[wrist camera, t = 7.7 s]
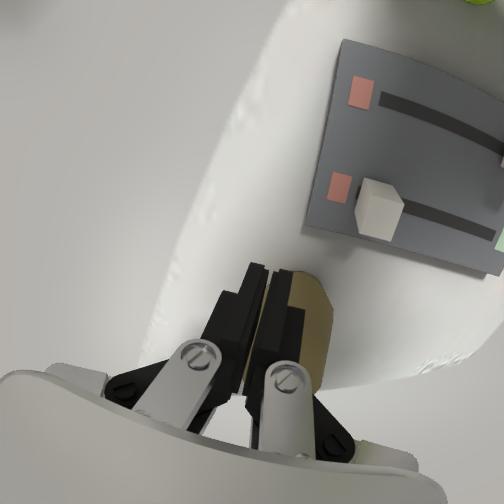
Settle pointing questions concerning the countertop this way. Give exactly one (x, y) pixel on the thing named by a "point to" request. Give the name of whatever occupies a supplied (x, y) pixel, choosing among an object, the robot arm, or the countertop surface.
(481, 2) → the soap dispenser
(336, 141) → the slider switch panel
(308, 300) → the squeeze bottle
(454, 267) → the countertop surface
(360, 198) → the block
